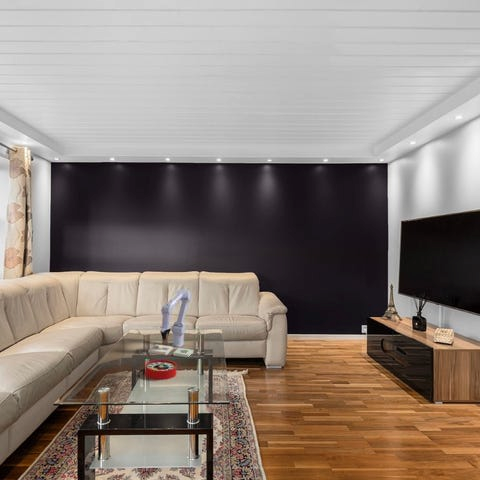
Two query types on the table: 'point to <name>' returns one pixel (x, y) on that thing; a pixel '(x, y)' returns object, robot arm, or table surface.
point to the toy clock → (160, 369)
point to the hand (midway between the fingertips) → (165, 339)
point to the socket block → (160, 349)
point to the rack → (185, 351)
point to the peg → (165, 340)
